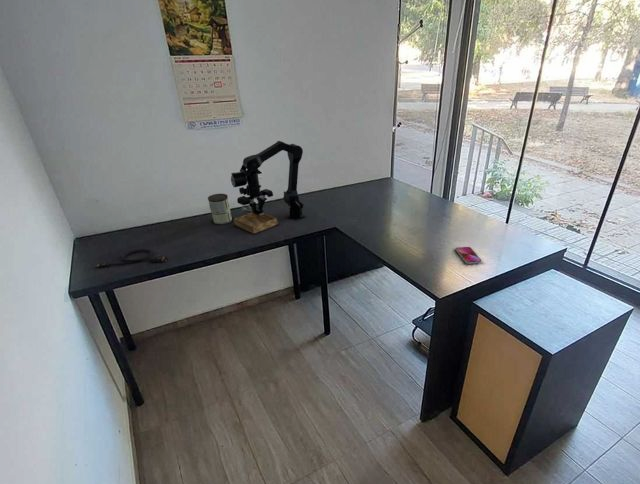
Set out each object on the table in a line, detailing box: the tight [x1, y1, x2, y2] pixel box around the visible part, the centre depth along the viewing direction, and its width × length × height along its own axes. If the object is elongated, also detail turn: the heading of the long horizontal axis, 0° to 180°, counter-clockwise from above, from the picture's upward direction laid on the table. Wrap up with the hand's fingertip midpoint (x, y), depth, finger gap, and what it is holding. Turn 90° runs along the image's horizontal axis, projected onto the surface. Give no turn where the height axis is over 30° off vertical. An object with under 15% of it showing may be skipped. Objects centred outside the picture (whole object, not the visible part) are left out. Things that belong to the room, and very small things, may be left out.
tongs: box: [241, 204, 264, 216], centre depth 204 cm, size 14×6×3 cm, turn 49°
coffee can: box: [207, 193, 233, 225], centre depth 211 cm, size 10×10×14 cm
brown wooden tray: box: [233, 212, 279, 234], centre depth 208 cm, size 16×17×4 cm
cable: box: [96, 248, 166, 268], centre depth 178 cm, size 14×28×2 cm, turn 100°
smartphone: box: [455, 246, 482, 265], centre depth 176 cm, size 7×1×15 cm
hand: (257, 212), depth 203 cm, fingers closed on tongs, 3 cm apart
